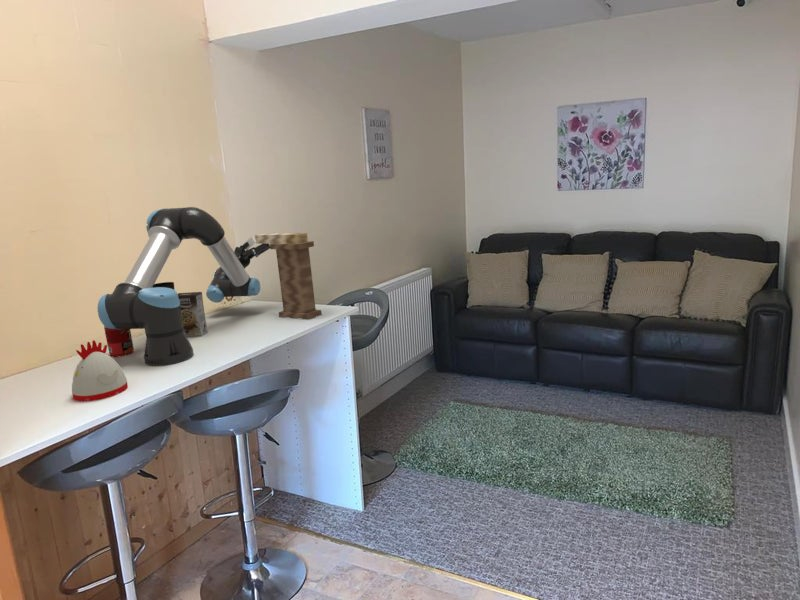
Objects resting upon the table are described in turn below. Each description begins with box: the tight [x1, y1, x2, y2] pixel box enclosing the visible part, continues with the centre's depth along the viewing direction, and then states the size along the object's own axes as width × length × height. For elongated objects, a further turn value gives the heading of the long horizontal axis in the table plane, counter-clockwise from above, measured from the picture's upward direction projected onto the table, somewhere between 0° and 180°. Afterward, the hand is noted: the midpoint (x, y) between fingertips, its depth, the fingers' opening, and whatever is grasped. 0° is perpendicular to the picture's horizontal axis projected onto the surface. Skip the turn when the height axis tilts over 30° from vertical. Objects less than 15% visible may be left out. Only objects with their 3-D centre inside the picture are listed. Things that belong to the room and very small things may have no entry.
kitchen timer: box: [71, 339, 128, 402], centre depth 163 cm, size 14×14×15 cm
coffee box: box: [177, 291, 208, 338], centre depth 219 cm, size 9×6×16 cm
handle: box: [254, 232, 309, 245], centre depth 235 cm, size 24×6×4 cm, turn 58°
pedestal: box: [269, 240, 322, 320], centre depth 235 cm, size 16×8×30 cm, turn 58°
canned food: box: [103, 325, 135, 358], centre depth 202 cm, size 8×8×11 cm
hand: (266, 237), depth 239 cm, fingers open, 13 cm apart
